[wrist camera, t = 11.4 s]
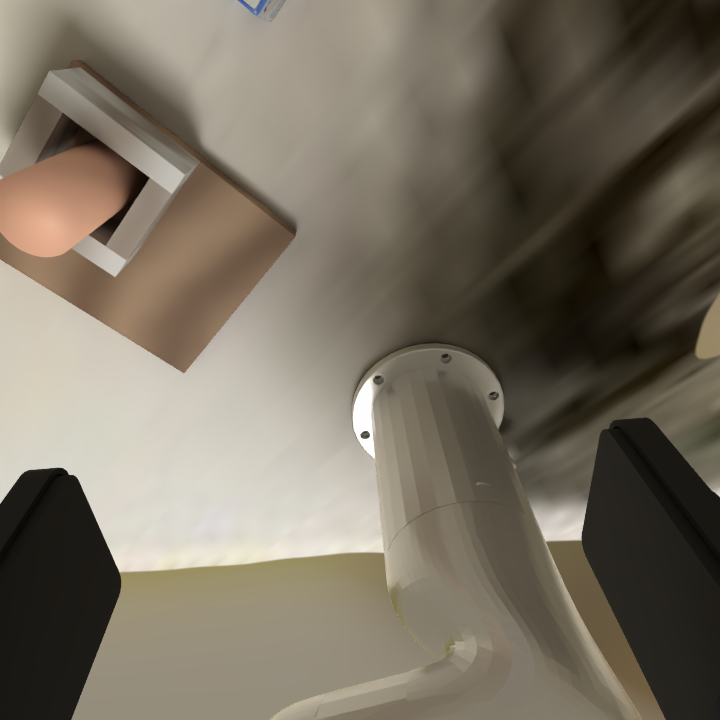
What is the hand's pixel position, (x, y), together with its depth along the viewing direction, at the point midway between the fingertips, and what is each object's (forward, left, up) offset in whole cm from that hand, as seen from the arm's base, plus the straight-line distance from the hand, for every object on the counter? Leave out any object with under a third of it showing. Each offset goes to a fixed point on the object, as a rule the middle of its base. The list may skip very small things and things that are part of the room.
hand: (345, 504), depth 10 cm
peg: (+11, +9, -29) cm, 32 cm away
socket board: (+8, +12, -30) cm, 33 cm away
